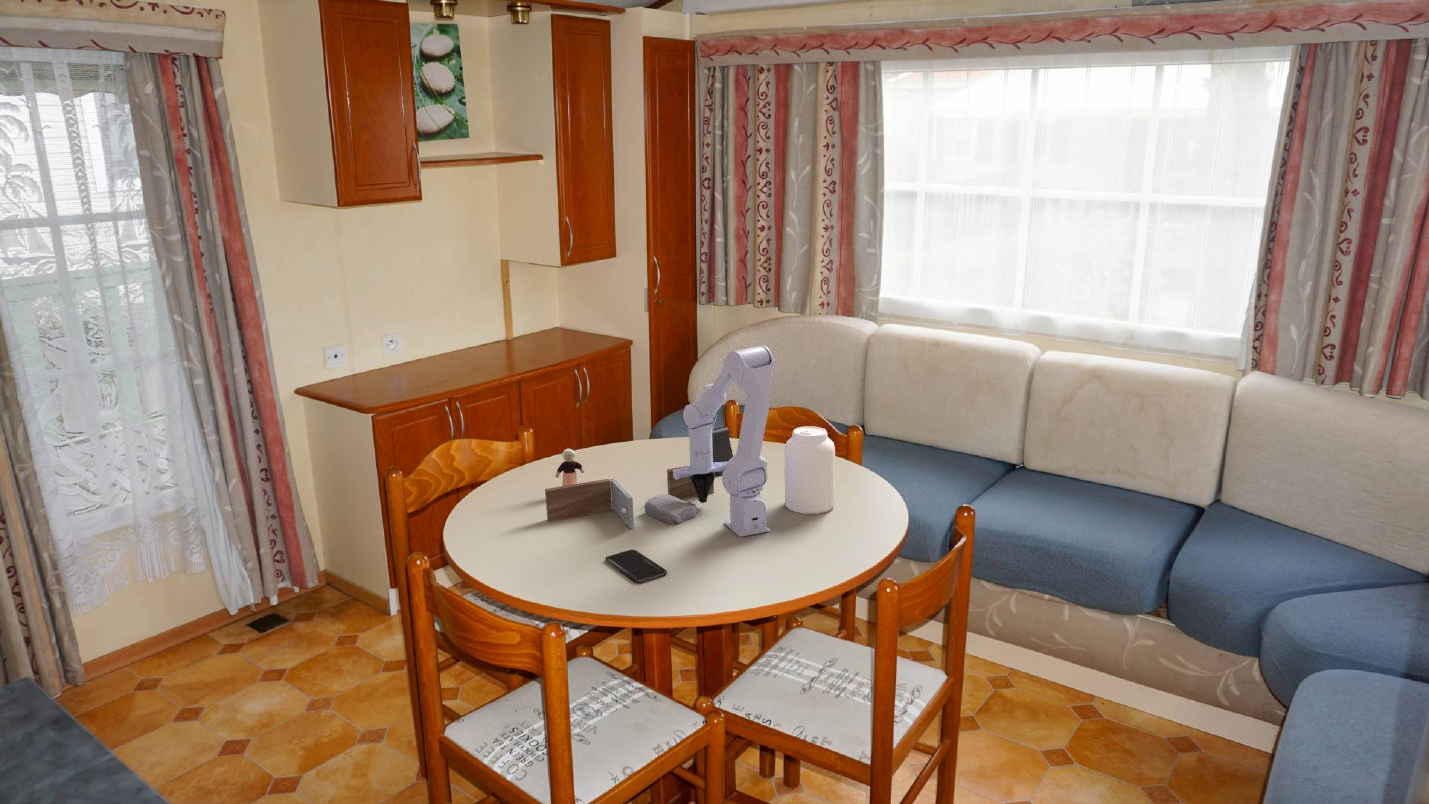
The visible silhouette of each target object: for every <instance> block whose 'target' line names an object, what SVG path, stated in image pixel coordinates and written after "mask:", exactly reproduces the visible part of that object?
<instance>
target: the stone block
mask: <svg viewBox="0 0 1429 804" xmlns="http://www.w3.org/2000/svg"><path fill="white" fill-rule="evenodd" d="M697 512H698V509H697V504H696V503H695V502H694V503H693V502H691V501H685V500H682V499H678V498H676V497H674V496H671V495H668V494H662V495H661V494H659V495H655V496H653V497H651V498H648V499H647V500H646V501H645V504H644V513H645V515H647V516H650V517H652V518H655V519H656V520H657V519H658V520H660V521H662V522H665V523H667V524H669V525H671V524H672V525H679V524H680V523H683V522H685V521H686V520H691V519H694V518H696V515H697Z"/></svg>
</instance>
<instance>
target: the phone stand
mask: <svg viewBox="0 0 1429 804" xmlns="http://www.w3.org/2000/svg"><path fill="white" fill-rule="evenodd" d="M712 450H713V462H726V461H727V462H728V461H729V460H730V459H731V458H732V457H733V456H734V454H733V450H732V445H731V440H730V430H729V428H728V427H726V426H723V427H722V426H721V427H717V428H714V429H713V431H712ZM723 472H724V471H720V472H714V473H713V475H714V476H716V477H722V474H723Z"/></svg>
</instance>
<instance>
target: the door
mask: <svg viewBox="0 0 1429 804" xmlns="http://www.w3.org/2000/svg"><path fill="white" fill-rule="evenodd" d="M610 483H611V500H612V511H614V512H615V513H616V514H617V515H618V517H619V518H620V519H621V520H622V521H623V522H624V523H625V524H626V525H627V527H628V528H629V529H635V523H634V519H635V518H634V503H633V500H634V499H633V497H632V496H631V495H630V493H628V491H627V490H626V489H625V488H624V487H622V485H621V484H620V483H619V482H617V480H616V479H615V478H611V479H610Z"/></svg>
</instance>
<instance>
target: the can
mask: <svg viewBox="0 0 1429 804" xmlns="http://www.w3.org/2000/svg"><path fill="white" fill-rule="evenodd" d="M835 480H836V447H835V443H834V441H832V439H831V438H830V437H828V432H827V430H826V428H822V427H819V426H814V425H809V426H807V425H806V426H799V427H797V428H795V429H793V431H792V436H791V437H790V438H789V439H788V440H787V441H786V443H785V445H784V504H785V507H786V508H787V509H788V510H789V511H792V512H794V513H796V514H797V513H798V514H804V515H815V514H816V515H817V514H822V513H827V512H829V511H831V510H832V509H833V508H834V506H835V502H836V501H835V498H836V497H835V493H836V489H835V488H836V487H835V486H836V485H835V482H836V481H835Z"/></svg>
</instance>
